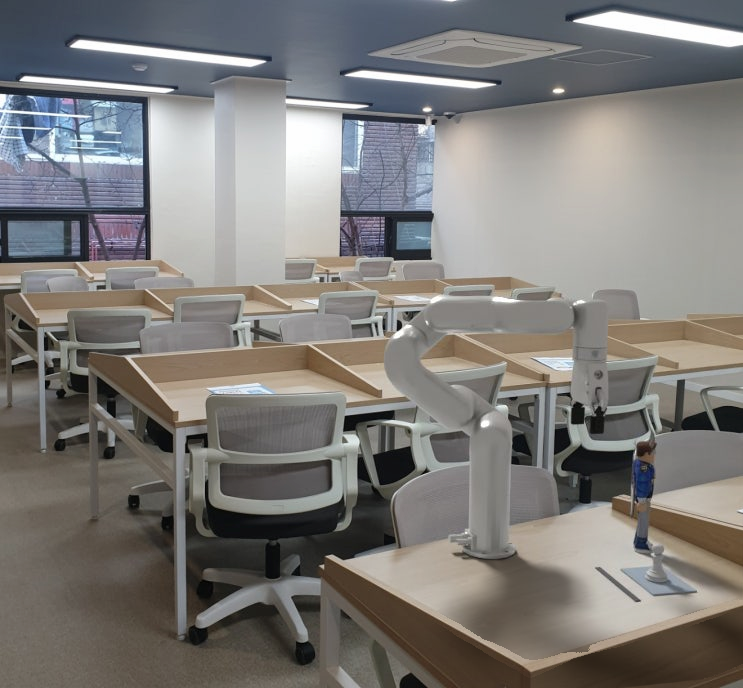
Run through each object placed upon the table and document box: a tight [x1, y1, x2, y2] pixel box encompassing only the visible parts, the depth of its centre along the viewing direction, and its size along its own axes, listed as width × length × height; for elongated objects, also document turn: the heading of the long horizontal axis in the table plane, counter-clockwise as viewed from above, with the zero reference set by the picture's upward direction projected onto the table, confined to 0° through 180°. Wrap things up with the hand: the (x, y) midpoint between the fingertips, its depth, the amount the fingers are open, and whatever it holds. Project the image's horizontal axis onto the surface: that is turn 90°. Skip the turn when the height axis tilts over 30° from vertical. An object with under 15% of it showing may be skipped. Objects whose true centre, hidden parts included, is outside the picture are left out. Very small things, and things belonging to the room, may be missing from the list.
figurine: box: [630, 427, 658, 554], centre depth 201 cm, size 10×6×30 cm, turn 168°
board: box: [594, 565, 698, 602], centre depth 184 cm, size 15×18×1 cm
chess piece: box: [645, 542, 668, 583], centre depth 184 cm, size 5×5×8 cm
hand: (586, 428), depth 194 cm, fingers open, 9 cm apart
